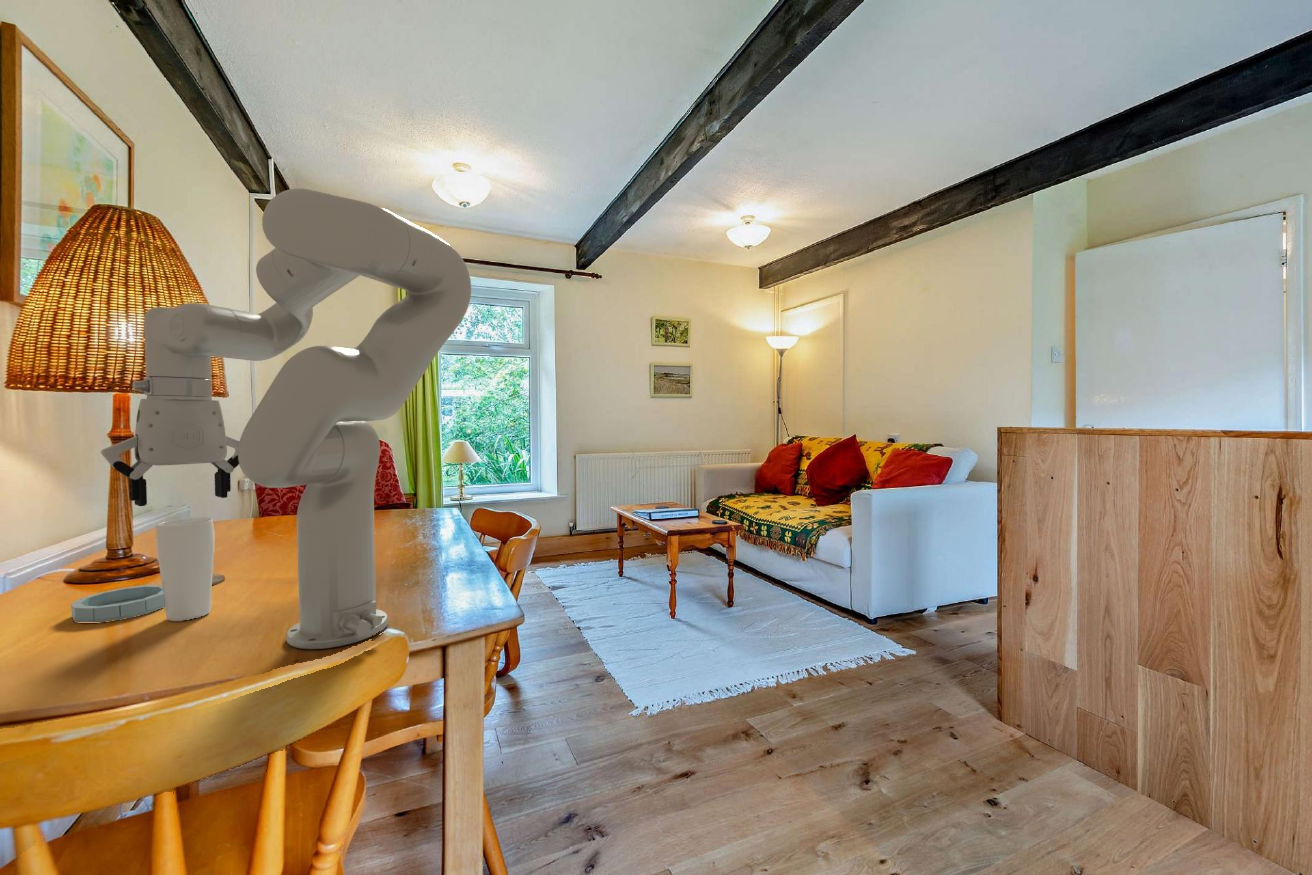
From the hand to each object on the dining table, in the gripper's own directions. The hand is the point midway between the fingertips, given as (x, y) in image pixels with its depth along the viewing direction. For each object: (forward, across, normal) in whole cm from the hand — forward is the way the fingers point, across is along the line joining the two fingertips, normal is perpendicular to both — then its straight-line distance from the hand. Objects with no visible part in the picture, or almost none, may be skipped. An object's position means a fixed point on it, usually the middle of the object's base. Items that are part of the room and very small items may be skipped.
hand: (182, 500), depth 82 cm
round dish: (+18, -5, +11) cm, 22 cm away
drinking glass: (+18, 0, -1) cm, 18 cm away
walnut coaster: (+18, +6, +19) cm, 27 cm away
